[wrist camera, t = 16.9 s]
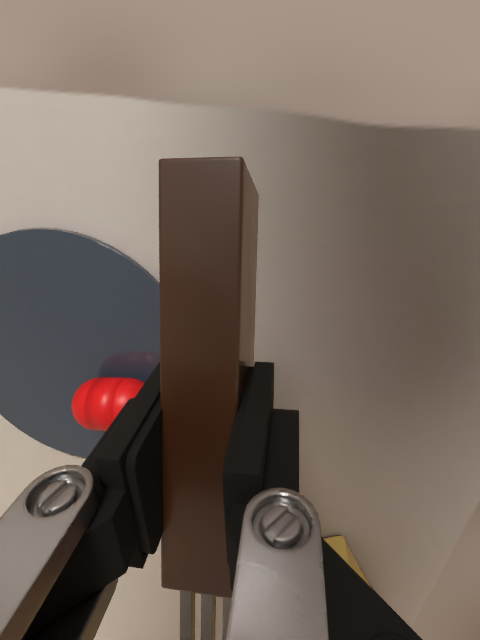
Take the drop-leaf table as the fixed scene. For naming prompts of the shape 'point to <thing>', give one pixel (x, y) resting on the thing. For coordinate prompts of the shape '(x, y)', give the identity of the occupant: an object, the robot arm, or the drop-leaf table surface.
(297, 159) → the drop-leaf table surface
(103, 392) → the red toy pepper
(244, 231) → the fork
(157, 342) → the plate
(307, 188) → the drop-leaf table surface
